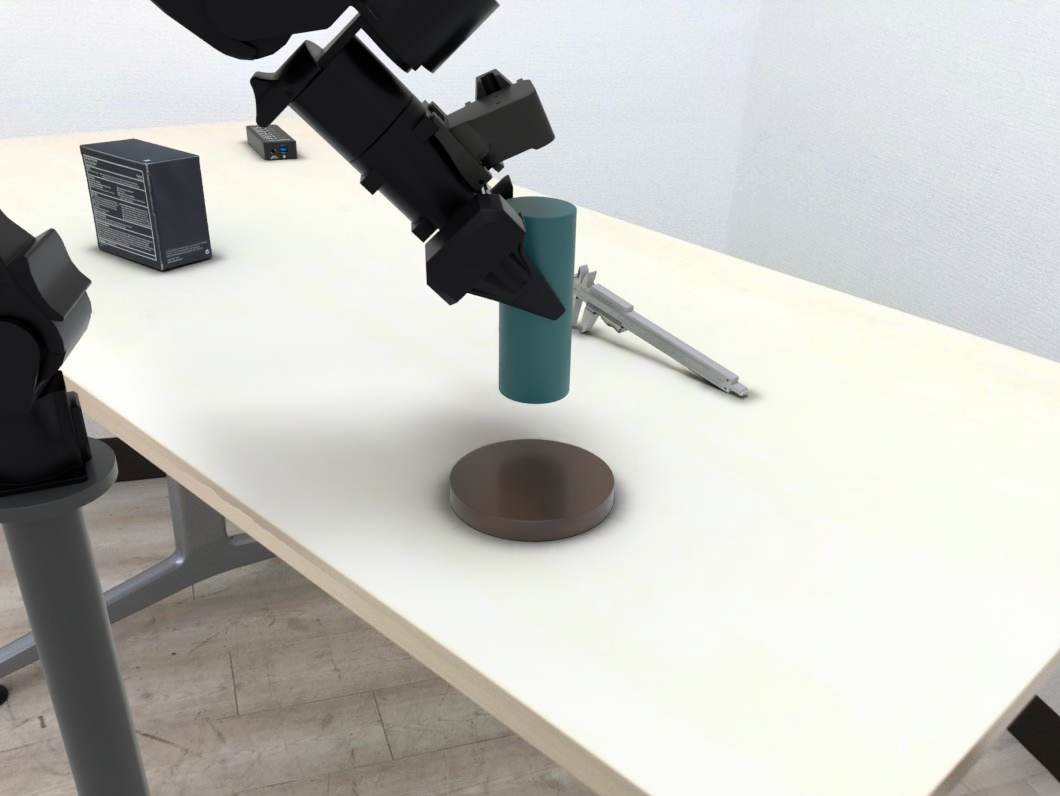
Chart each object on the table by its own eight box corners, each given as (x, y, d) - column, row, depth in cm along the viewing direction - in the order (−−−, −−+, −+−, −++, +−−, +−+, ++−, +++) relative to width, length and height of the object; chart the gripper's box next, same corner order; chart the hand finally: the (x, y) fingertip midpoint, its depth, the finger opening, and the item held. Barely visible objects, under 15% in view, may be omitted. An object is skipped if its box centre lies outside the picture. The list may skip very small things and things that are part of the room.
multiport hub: (278, 140, 152) (276, 124, 151) (298, 158, 144) (296, 141, 143) (246, 141, 150) (245, 125, 148) (265, 160, 142) (263, 142, 141)
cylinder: (487, 396, 72) (486, 210, 66) (515, 369, 77) (517, 192, 70) (554, 409, 71) (560, 222, 65) (579, 381, 75) (587, 203, 69)
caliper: (565, 327, 97) (567, 262, 94) (573, 324, 98) (575, 260, 95) (741, 399, 86) (750, 328, 83) (749, 395, 87) (758, 325, 84)
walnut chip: (488, 557, 64) (488, 536, 63) (426, 474, 72) (425, 456, 71) (643, 518, 69) (644, 499, 68) (568, 445, 77) (569, 427, 76)
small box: (218, 257, 107) (203, 153, 102) (162, 272, 102) (144, 164, 97) (151, 235, 112) (135, 134, 106) (95, 249, 107) (75, 144, 102)
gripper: (485, 57, 54) (675, 265, 61) (466, 11, 69) (619, 182, 77) (337, 206, 56) (538, 389, 64) (352, 130, 72) (511, 284, 79)
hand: (556, 300), depth 71 cm, fingers closed on cylinder, 5 cm apart
